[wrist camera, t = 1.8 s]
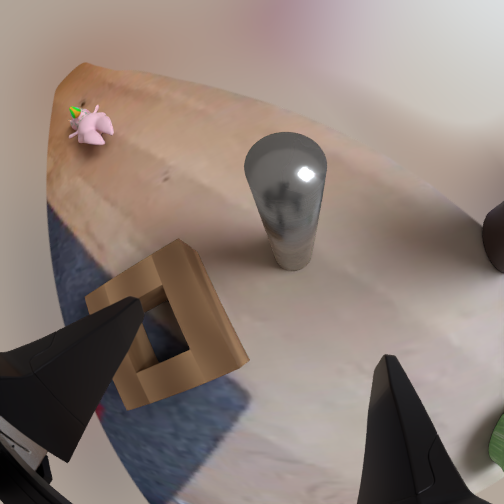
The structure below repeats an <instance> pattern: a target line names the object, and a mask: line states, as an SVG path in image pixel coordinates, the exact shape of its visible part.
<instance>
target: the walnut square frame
mask: <svg viewBox="0 0 504 504" xmlns="http://www.w3.org/2000/svg"><path fill="white" fill-rule="evenodd" d="M128 296H134V297H137V298H139V299H140V301H141V304H142V307H143V311H144V312H146V311H148V310H150V309H152V308H154V307H156V306H157V305H159V304H161V303H163V302H165V301H167V300H169V303H170V305H171V307H172V310H173V312H174V314H175V317H176V319H177V321H178V324H179V326H180V328H181V330H182V333H183V335H184V337H185V339H186V341H187V343H188V346H189V348H190V350H188V351H186V352H184V353H181V354H179V355H177V356H175V357H173V358H170V359H168V360H166V361H164V362H161V363H159V362H158V360H157V358H156V355H155V353H154V351H153V349H152V346H151V344H150V341H149V339H148V337H147V334H146V332H145V329H144V327H143V324H142V323H141V325H140V327H139V330H138V332H137V334H136V336H135V338H134V340H133V343H132V345H131V347H130V349H129V351H128V352H127V354H126V356H125V358H124V359H123V361H122V363H121V365H120V366H119V368H118V370H117V371H116V373H115V375H114V377H113V381H114V383H115V386H116V388H117V390H118V392H119V394H120V397H121V399H122V401H123V403H124V405H125V407H126V409H127V411H128V410H131V409H134V408H138V407H141V406H144V405H147V404H150V403H153V402H156V401H159V400H162V399H164V398H167V397H170V396H173V395H175V394H178V393H181V392H183V391H186V390H189V389H191V388H194V387H196V386H199V385H201V384H204V383H206V382H209V381H211V380H214V379H216V378H218V377H221V376H223V375H225V374H228V373H230V372H232V371H234V370H237V369H239V368H240V367H242V366H243V365H244V364H245V363H247V362H248V361H249V360H250V359H249V358H248V356H247V354H246V352H245V350H244V348H243V346H242V344H241V342H240V340H239V338H238V336H237V334H236V332H235V330H234V328H233V326H232V324H231V322H230V320H229V318H228V316H227V314H226V312H225V310H224V308H223V306H222V304H221V302H220V300H219V298H218V295H217V293H216V291H215V289H214V287H213V285H212V283H211V281H210V279H209V276H208V274H207V272H206V270H205V268H204V266H203V263H202V261H201V259H200V257H199V255H198V252H197V251H195V250H194V249H192V248H191V247H190V246H188V245H187V244H186V243H184V242H183V241H181V240H180V239H179V238H178V239H177V240H175V241H173V242H172V243H170V244H168V245H166V246H165V247H163V248H161V249H160V250H158V251H156V252H155V253H153V254H151V255H150V256H148V257H147V258H145V259H143V260H142V261H140V262H138V263H137V264H135V265H133V266H132V267H130V268H129V269H127V270H125V271H124V272H122V273H121V274H119V275H118V276H116V277H114V278H113V279H111V280H110V281H108V282H107V283H105V284H103V285H102V286H100V287H99V288H97V289H96V290H94V291H93V292H91V293H90V294H88V295H87V296H85V300H86V304H87V307H88V311H89V314H90V315H91V314H93V313H95V312H97V311H99V310H101V309H103V308H105V307H107V306H109V305H111V304H113V303H116V302H118V301H120V300H122V299H124V298H126V297H128Z"/></svg>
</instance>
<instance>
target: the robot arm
mask: <svg viewBox="0 0 504 504" xmlns="http://www.w3.org/2000/svg"><path fill="white" fill-rule="evenodd" d="M143 319H144V311H143V307H142V304H141V301H140V299H139V298H137V297H134V296H128V297H126V298H124V299H122V300H120V301H118V302H116V303H113V304H111V305H109V306H107V307H105V308H103V309H101V310H99V311H97V312H95V313H93V314H91V315H89V316H86V317H84V318H82V319H80V320H78V321H76V322H74V323H72V324H70V325H68V326H66V327H64V328H62V329H60V330H58V331H57V332H54V333H52V334H50V335H47V336H45V337H43V338H41V339H39V340H36V341H34V342H31V343H29V344H27V345H24V346H21V347H19V348H16V349H14V350H11V351H8V352H0V500H1V501H2V502H3V503H4V504H72V503H71V502H70V501H68V500H67V499H66V498H65V497H64V496H62V495H61V494H60V493H59V492H57V491H56V490H55V489H54V488H53V487H51V486H50V485H49V484H50V482H51V481H52V474H51V471H50V466H49V460H48V456H47V455H46V454H47V452H50V453H51V454H53V455H55V456H56V457H58V458H60V459H61V460H63V461H65V462H66V463H68V462H69V461H70V459H71V457H72V455H73V452H74V450H75V449H76V447H77V445H78V442H79V440H80V439H81V437H82V434H83V433H84V431H85V428H86V426H87V425H88V423H89V421H90V419H91V417H92V415H93V413H94V411H95V409H96V407H97V406H98V404H99V402H100V400H101V398H102V396H103V395H104V393H105V391H106V389H107V387H108V386H109V384H110V382H111V380H112V379H113V377H114V375H115V373H116V371H117V370H118V368H119V366H120V365H121V363H122V361H123V359H124V358H125V356H126V354H127V352H128V351H129V349H130V347H131V345H132V343H133V340H134V338H135V336H136V334H137V332H138V330H139V327H140V325H141V323H142V321H143ZM357 504H491V503H489V502H487V501H485V500H483V499H481V498H479V497H477V496H476V495H474V494H473V493H472V492H471V491H470V490H469V489H468V487H467V486H466V484H465V483H464V481H463V479H462V477H461V476H460V474H459V472H458V471H457V469H456V467H455V466H454V464H453V462H452V460H451V459H450V457H449V455H448V453H447V451H446V449H445V447H444V445H443V443H442V441H441V439H440V437H439V435H438V434H437V431H436V429H435V427H434V425H433V423H432V421H431V419H430V417H429V415H428V413H427V412H426V410H425V408H424V406H423V404H422V402H421V400H420V398H419V396H418V395H417V393H416V391H415V389H414V387H413V386H412V384H411V382H410V380H409V378H408V377H407V375H406V373H405V371H404V370H403V368H402V366H401V364H400V363H399V361H398V359H397V358H396V356H394V355H387V354H385V355H383V357H382V358H381V360H380V361H379V363H378V365H377V366H376V368H375V370H374V375H373V382H372V390H371V396H370V403H369V409H368V419H367V433H366V444H365V454H364V462H363V470H362V477H361V484H360V490H359V496H358V501H357Z"/></svg>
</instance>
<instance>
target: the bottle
mask: <svg viewBox="0 0 504 504" xmlns="http://www.w3.org/2000/svg"><path fill="white" fill-rule="evenodd" d="M483 242H484V246H485V249H486V252H487V254H488V257H489V259H490V261H491V262H492V263H493V265H494V266H495V267H496V268H497V269H498V270H500V271H501V272H503V273H504V201H503V202H502V203H501V204H499V205H498V206H497V207H495V208H494V209H493V210H491V211H490V212H489V213H488V214H487V216H486V218H485V220H484V224H483Z"/></svg>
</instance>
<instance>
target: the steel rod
mask: <svg viewBox="0 0 504 504" xmlns="http://www.w3.org/2000/svg"><path fill="white" fill-rule="evenodd" d="M244 170H245V175H246V178H247V181H248V183H249V186H250V189H251V192H252V194H253V197H254V200H255V203H256V205H257V208H258V211H259V214H260V217H261V219H262V222H263V225H264V228H265V231H266V233H267V236H268V239H269V242H270V245H271V248H272V250H273V253H274V256H275V259H276V261H277V263H278V264H279V265H280V266H281V267H282V268H284V269H286V270H289V271H297V270H300V269H302V268H304V267H305V266H306V265H307V264H308V263H309V261H310V259H311V255H312V250H313V245H314V240H315V235H316V230H317V224H318V219H319V213H320V208H321V202H322V196H323V190H324V184H325V178H326V171H327V161H326V157H325V154H324V152H323V151H322V149H321V148H320V146H319V145H318V144H317V143H316V142H314V141H313V140H312V139H310V138H308V137H306V136H304V135H301V134H298V133H293V132H279V133H274V134H271V135H268V136H266V137H264V138H262V139H260V140H259V141H258V142H256V143H255V144H254V145H253V146H252V148H251V149H250V150H249V152H248V154H247V156H246V159H245V164H244Z"/></svg>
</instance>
